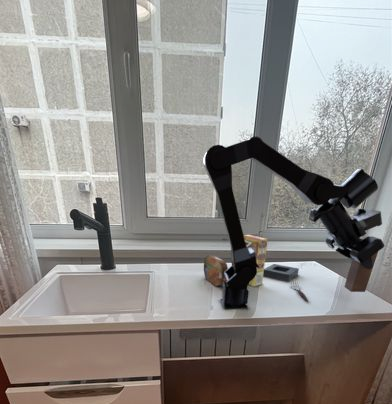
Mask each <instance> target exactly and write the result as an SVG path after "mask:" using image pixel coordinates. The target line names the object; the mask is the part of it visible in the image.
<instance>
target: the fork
mask: <svg viewBox="0 0 392 404" xmlns="http://www.w3.org/2000/svg"><path fill="white" fill-rule="evenodd" d="M290 285H291V289H293V290H295V291H296V290H297V292H298V294H299V296H300V297H302V298H303V300H305V301H306V302H309V300H308V298H307V297H306V295H305V293H304V292H303V291H301V290H300V289H301V288H300V285H299V281H298V280H292V281H290Z"/></svg>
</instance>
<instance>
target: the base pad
mask: <svg viewBox="0 0 392 404" xmlns="http://www.w3.org/2000/svg"><path fill="white" fill-rule="evenodd" d="M299 271H300V268H298V267H293V266H288V265H282V264H276V263H273V264H271V265H269V266H267V267H266V268H265V267H264V273H263V277H265V278H268V279H269V278H271V279H275V280H279V281H283V282H291V281H292V280H294V278H295V277H297V276H298V275H299Z"/></svg>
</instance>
